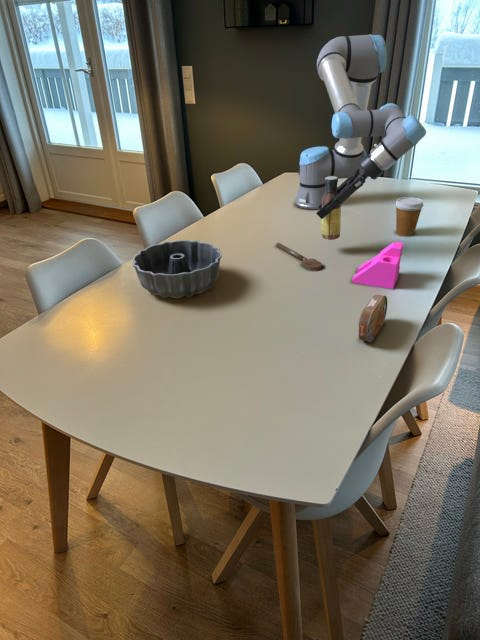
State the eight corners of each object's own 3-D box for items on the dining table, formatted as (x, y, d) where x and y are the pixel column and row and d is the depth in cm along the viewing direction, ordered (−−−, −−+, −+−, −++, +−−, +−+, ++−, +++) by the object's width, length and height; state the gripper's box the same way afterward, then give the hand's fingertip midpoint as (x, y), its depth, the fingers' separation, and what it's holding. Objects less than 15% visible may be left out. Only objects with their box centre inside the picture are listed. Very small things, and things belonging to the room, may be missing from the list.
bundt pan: (187, 260, 159) (184, 232, 154) (241, 283, 143) (240, 252, 137) (120, 287, 144) (114, 257, 139) (173, 316, 127) (168, 284, 122)
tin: (367, 348, 110) (370, 318, 106) (354, 345, 112) (357, 315, 108) (386, 319, 121) (390, 290, 117) (374, 316, 123) (378, 288, 118)
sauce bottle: (341, 234, 159) (345, 175, 148) (338, 241, 154) (342, 180, 143) (322, 233, 161) (324, 174, 150) (318, 239, 156) (320, 179, 145)
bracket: (398, 274, 143) (403, 242, 138) (393, 288, 135) (397, 256, 130) (359, 268, 148) (362, 237, 142) (351, 282, 140) (354, 250, 134)
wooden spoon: (270, 247, 165) (270, 243, 164) (282, 244, 167) (282, 240, 166) (311, 271, 147) (311, 267, 146) (324, 267, 149) (325, 263, 148)
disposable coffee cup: (415, 228, 175) (420, 196, 168) (421, 237, 167) (426, 204, 160) (389, 228, 176) (393, 196, 169) (394, 237, 168) (398, 205, 161)
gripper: (368, 146, 149) (315, 195, 161) (368, 160, 133) (308, 214, 145) (384, 163, 150) (330, 211, 162) (385, 179, 134) (325, 231, 147)
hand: (320, 212), depth 154 cm, fingers closed on sauce bottle, 6 cm apart
